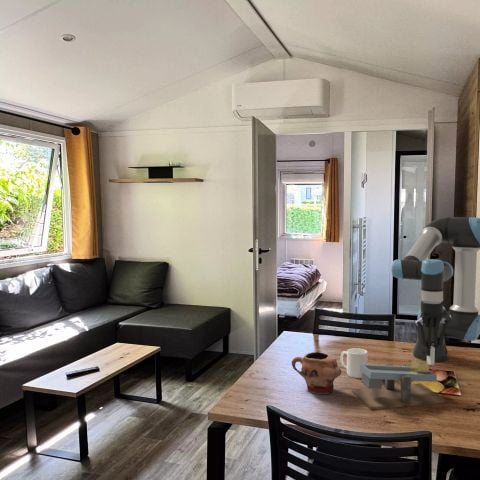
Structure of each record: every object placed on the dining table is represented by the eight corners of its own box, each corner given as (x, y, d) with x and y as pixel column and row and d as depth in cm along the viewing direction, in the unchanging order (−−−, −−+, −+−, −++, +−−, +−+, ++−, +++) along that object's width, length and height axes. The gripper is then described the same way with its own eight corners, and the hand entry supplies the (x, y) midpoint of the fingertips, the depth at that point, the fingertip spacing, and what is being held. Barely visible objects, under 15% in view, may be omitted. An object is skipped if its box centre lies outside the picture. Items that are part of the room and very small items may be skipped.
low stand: (421, 385, 187) (421, 360, 187) (445, 402, 172) (446, 375, 171) (351, 391, 182) (351, 366, 181) (370, 409, 167) (370, 381, 166)
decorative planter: (286, 391, 184) (285, 356, 182) (296, 380, 195) (295, 347, 193) (337, 400, 175) (337, 363, 174) (345, 388, 186) (345, 353, 185)
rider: (421, 372, 180) (422, 360, 180) (427, 376, 176) (429, 364, 176) (410, 371, 180) (411, 359, 179) (416, 375, 175) (418, 363, 175)
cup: (361, 379, 194) (361, 355, 193) (335, 373, 202) (335, 349, 202) (370, 374, 200) (371, 350, 200) (345, 367, 208) (345, 345, 208)
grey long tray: (421, 383, 184) (423, 367, 183) (435, 392, 174) (437, 375, 174) (358, 380, 179) (360, 363, 178) (369, 390, 169) (371, 372, 169)
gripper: (441, 298, 181) (440, 359, 183) (410, 300, 179) (409, 361, 181) (454, 302, 174) (452, 365, 176) (421, 304, 172) (420, 368, 173)
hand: (430, 363), depth 178 cm, fingers closed
